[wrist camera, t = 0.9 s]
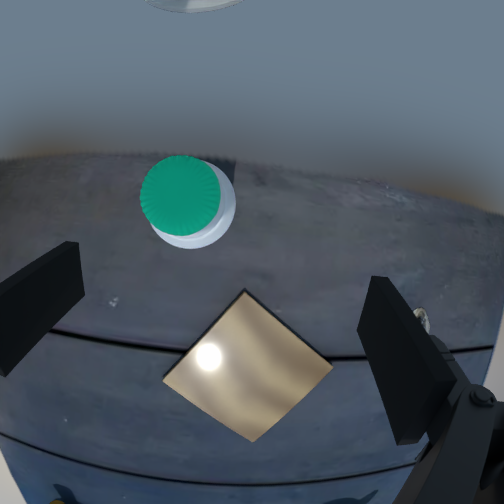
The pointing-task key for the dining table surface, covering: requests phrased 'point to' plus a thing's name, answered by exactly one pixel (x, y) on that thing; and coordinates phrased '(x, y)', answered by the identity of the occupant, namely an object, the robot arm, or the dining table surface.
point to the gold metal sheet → (247, 369)
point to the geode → (422, 318)
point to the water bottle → (188, 201)
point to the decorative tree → (56, 502)
